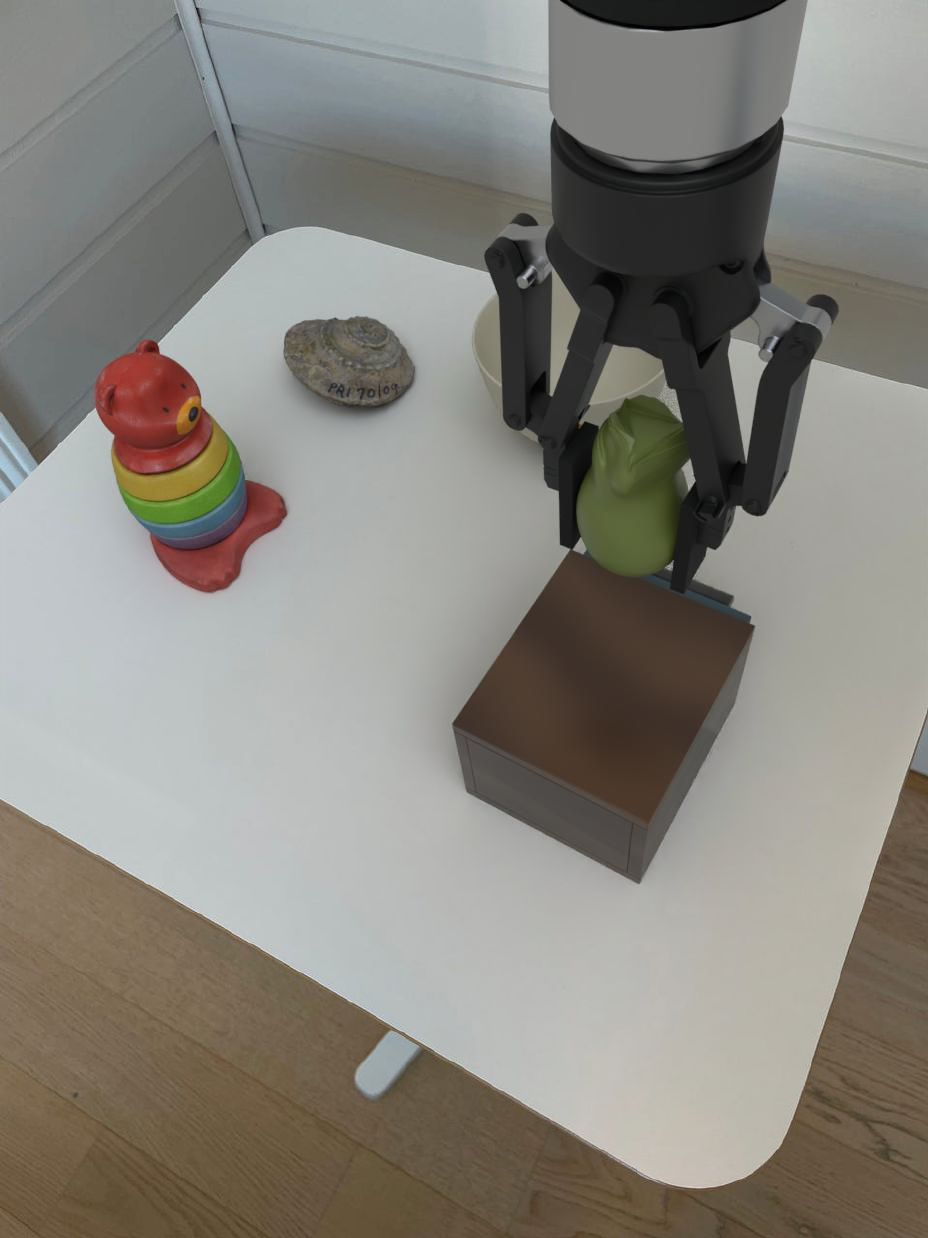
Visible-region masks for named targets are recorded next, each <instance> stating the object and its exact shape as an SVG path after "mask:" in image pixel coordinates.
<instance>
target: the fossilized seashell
mask: <svg viewBox="0 0 928 1238" xmlns="http://www.w3.org/2000/svg"><path fill="white" fill-rule="evenodd" d="M283 339H284V340H283V349H282V350H283V359H284V360H285V364H286V366H287V367H288V369H289V371H290V372H291V373H292V375H293V376H294V378H296V379H297V380H298V382H300V383H301V385H303V386H304V387H306V389H308V390H310V391H311V392H312V393H314V394H316V395H317V396H319V397H320V398H323V399H325V400H327V401H330V402H331V403H333V404H336V405H339V406H343V407H352V408H353V407H366V408H367V407H368V408H373V407H378V406H381V405H384V404H388V403H390V402H392V401H394V400H395V399H396V398H398V397H399V396H400V395H402V394H403V393H404V392H405V391H406V390H407V388H409V386H410V385H411V384H412V382H413V381H414V373H415V371H416V367H415V365H414V362H413V360H412V359H411V357H410V356H409V353H408V350H407V348H406V347H405V346H404V345H403V344H402V343H401V342H400V337H399V336H397V335H396V334H395V331H394V330H392V329H391V328H389V327H388V326H387V325H386V324H385V323H383V322H381V321H380V320H378V319H376V318H371V317H369V316H361V315H360V316H359V315H356V316H354V317H353V316H351V317H349V318H348V319H340V318H337V317H335V316H334V317H333V318H328V319H320V318H316V319H306V320H305V319H304V320H302V321H300V322H297V323H295V324H294V325H292V326H290V327H289V328H288V329H287V331H285V334H284V338H283Z"/></svg>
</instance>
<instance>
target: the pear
mask: <svg viewBox="0 0 928 1238" xmlns="http://www.w3.org/2000/svg"><path fill="white" fill-rule="evenodd" d="M690 460H691V459H690V455H689V450H688V446H687V441H686V436H685V432H684V427H683V423H682V420H681V419H679V418H678V417H677V416H676V415H675V413H673V412H672V411H671V409H670V408H669V407H668V406H667V404H666V403H665V402H664V401H661V400H659V398H658V399H656V398H655V397H648V396H645V395H639V396H636V397H634V398H631V399H628V398H625V400H624V402H623V404H622V405H621V407H620V409H619V408H618V409H617V410H616V411H614V412H612V413H610V414H609V417H608V418H607V419H606V420H605V421H604V422H603V424H602V425H601V427H600V429H599V431H598V433H597V435H596V438H595V440H594V444H593V449H592V465H591V466H590V468H589V469H588V471H587V473H586V475H585V477H584V479H583V482H582V484H581V487H580V490H579V493H578V498H577V505H576V516H577V523H578V528H579V532H580V535H581V538H580V539H581V541H582V542H583V545H584V547H585V549H587V550H588V552H589V553H590V554H591V556H592V557H593V558H594V559H595V560H596V561H597V562H598V563H599V564H600V565H601V566H602V567H604V568H605V569H607V570H609V571H611V572H613V573H615V574H618V575H621V576H626V577H642V576H647V575H650V574H653V573H656V572H658V571H660V570H662V569H663V568H666V567H668V566H669V565H670V564H672V563H673V562H674V554H675V547H676V540H677V532H678V525H679V518H680V510H681V504H682V502H683V501H684V499H685V497H686V496H687V494H688V492H689V491H690V489H689V485H688V481H687V478H686V476H685V473H684V470H683V467H684V466H685V465H686V464H687V463H688V462H689V461H690Z"/></svg>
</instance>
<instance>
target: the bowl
mask: <svg viewBox="0 0 928 1238" xmlns="http://www.w3.org/2000/svg"><path fill="white" fill-rule="evenodd" d="M579 312H580V308H579V307H578V305H577V304H576V302H575V301H574V299H573V298H572V296H571V294H570V293H569V291H568V290H567V288H566V287H565V285H564V283H563V282H562V280H561V279H560V277H559V276H558V274H557V272H556V271H555V269H554V268H553V269H552V321H551V372H550V394H549V395H550V396H553V393H554V390H555V388H556V385H557V382H558V379H559V377H560V374H561V371H562V368H563V365H564V363H565V360H566V357H567V354H568V352H569V350H568V349H567V346H568V343H569V341H570V338H571V335H572V332H573V329H574V327H575V324H576V321H577V318H578V315H579ZM471 346H472V352H473V353H472V354H473V356H474V359H475V362H476V364H477V366H478V369H479V372H480V375H481V376H482V379H483V381H484V383H485V386H486V388H487V391H488V393H489V396H490V397H491V399H492V402H493V403H494V405H495V406H496V409H497V410H498V411H499V413H500V414H501V416H502V417H503V404H502V376H501V348H500V319H499V297H498V294H497V292H496V293H495V294H494V295H492V297H491V298H490V299H488V301H487V302H486V303H485V304H484V306H482V308H481V310H480V311H479V313H478V314H477V316H476V319H475V320H474V324H473V328H472V333H471ZM666 383H667V382H666V378H665V373H664V369H663V364H662V360H661V359H658V358H655V357H654V356H652V355H650V354H648V353H646V352H644V351H643V350H641V349H639V348H632V347H620V346H617V345H613V347H612V349H611V352H610V354H609V356H608V359H607V361H606V364H605V366H604V368H603V371H602V373H601V376H600V378H599V380H598V383H597V385H596V388H595V390H594V392H593V395H592V397H591V400H590V402H589V404H588V405H591V406H590V408H589V409H588V410H587V412H586V413H585V415H584V416H583V418H582V419H581V420H580V422H579V429H580V427H581V426H582V424H583V423H584V421H586V422H589V423H591V424H594V425H597V426H599V429H600V427H601V425H602V424H603V422H604V421H605V420H606V419H607V418H608V417H609V414H610V413H612V412H614V411H616V410H617V409H618V408H619V409H620V407H621V405H622V404H623V402H624V400H625V398H628V399H631V398H634V397H636V396H639V395H645V396H648V397H655V398H656V399H658V400H659V397H660V395H661V393H662V392H663V391H662V390H663V388H664V386H665V384H666ZM517 432H518V433H520V434H521V435H522V436H524V437H525V438H527V439H529V440H531V441H533V442H535V443H538V444H539V442H538V436H537V435H536V434H535V433H533V432H532V431H531V430H529V429H527V428H526V427H525V429H524V430H522V431H517Z"/></svg>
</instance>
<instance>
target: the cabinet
mask: <svg viewBox="0 0 928 1238" xmlns="http://www.w3.org/2000/svg"><path fill="white" fill-rule="evenodd" d="M755 628H756V625H755V624H753V623H751V622H750V623H748V622H745V621H743V620H740V619H738V618H736V617H733V616H731V615H728V614H726V613H723V612H721V611H719V610H716V609H714V608H711V607H709V606H707V605H704V604H702V603H699V602H697V601H695V600H692V599H690V598H687V597H685V596H682V595H680V594H678V593H675V592H673V591H670V590H668V589H666V588H663V587H661V586H658V585H656V584H653V583H651V582H649V581H646V580H644V579H641V578H639V577H626V576H621V575H618V574H615V573H613V572H611V571H609V570H607V569H605V568H604V567H602V566H601V565H600V564H599V563H598V562H597V561H596V560H595V559H593V558H591V557H588V556H586V555H584V553H582V552H578V551H576V550H574V549H573V550H571V549H569V551H567V554H566V555H565V557H564V558H563V559H562V561H561V563H559V565H558V567H557V568H556V569H555V571H554V573H553V574H552V576H551V577H550V579H549V580H548V582H547V583H546V584H545V586H544V588H543V589H542V590H541V592H540V593H539V594H538V596H537V598H536V599H535V600H534V602H533V604H532V605H531V606H530V608H529V609H528V611H527V612H526V614H525V616H524V617H523V619H522V620H521V621H520V623H519V624H518V626H517V627H516V628H515V630H514V631H513V633H512V634H511V636H510V637H509V639H508V640H507V642H506V644H505V645H504V646H503V648H502V649H501V651H500V652H499V654H498V655H497V656H496V658H495V660H494V661H493V663H492V664H491V665H490V667H489V669H488V670H487V672H486V673H485V674H484V676H483V677H482V679H480V680H481V681H480V682H479V683H478V685H477V686H476V688H475V689H474V691H473V692H472V694H471V695H470V697H469V698H468V700H467V701H466V703H465V704H464V705H463V707H462V708H461V710H460V711H459V713H458V714H457V716H456V717H455V719H454V720H453V722H452V723H451V725H452V730H453V735H454V736H453V737H454V740H455V741H454V742H455V745H456V750H457V753H458V758H459V763H460V767H461V772H462V777H463V781H464V787H465V790H466V793H468V794H470V795H471V796H474V797H475V798H477V799H479V800H480V801H483V802H485V803H486V804H488V805H490V806H492V807H494V808H496V809H498V810H499V811H501V812H504V813H505V814H507V815H509V816H510V817H513V818H515V819H516V820H518V821H520V822H522V823H523V824H525V825H527V826H529V827H531V828H533V829H535V830H537V831H538V832H541V833H542V834H545V835H546V836H549V837H550V838H552V839H554V840H555V841H558V842H559V843H561V844H563V845H565V846H567V847H569V848H570V849H572V850H574V851H577V852H578V853H579V854H582V855H583V856H585V857H587V858H589V859H591V860H593V861H595V862H597V863H599V864H600V865H602V866H605V867H606V868H608V869H610V870H612V871H614V872H615V873H617V874H619V875H621V876H623V877H624V878H627V879H628V880H630V881H632V882H634V883H636V884H638V885H640V884H641V882H642V880H643V879H644V877H645V875H646V873H647V870H648V869H649V867H650V865H651V863H652V861H653V859H654V857H655V855H656V854H657V852H658V850H659V848H660V846H661V844H662V843H663V840H664V838H665V836H666V835H667V833H668V831H669V829H670V828H671V825H672V824H673V821H674V819H676V818H675V817H676V816H677V814H678V812H679V811H680V808H681V806H682V805H683V802H684V800H685V799H686V798H687V797H686V796H687V795H688V793H689V791H690V789H691V787H692V785H693V784H694V782H695V780H696V777H697V776H698V774H699V772H700V770H701V768H702V767H703V765H704V763H705V761H706V759H707V757H708V755H709V753H710V751H711V749H712V747H713V746H714V743H715V742H716V740H717V738H718V736H719V735H720V732H721V730H722V728H723V727H724V724H725V723H726V721H727V719H728V717H729V715H730V713H731V712H732V709H733V708H734V706H735V704H736V700H737V697H738V694H739V693H738V692H739V688H740V686H741V681H742V678H743V675H744V671H745V666H746V663H747V659H748V655H749V651H750V648H751V644H752V640H753V637H754V633H755Z"/></svg>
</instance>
